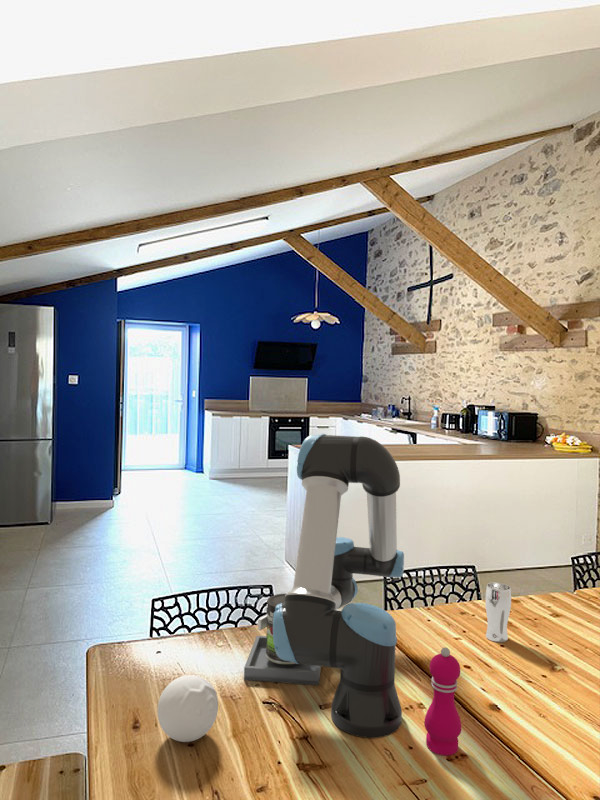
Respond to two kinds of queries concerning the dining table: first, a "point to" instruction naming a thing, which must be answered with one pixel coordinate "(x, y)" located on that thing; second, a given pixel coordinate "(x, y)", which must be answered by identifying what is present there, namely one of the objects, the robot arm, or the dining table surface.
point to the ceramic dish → (277, 668)
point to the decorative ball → (187, 708)
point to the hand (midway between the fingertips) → (277, 629)
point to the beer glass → (497, 611)
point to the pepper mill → (443, 705)
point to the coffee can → (270, 648)
